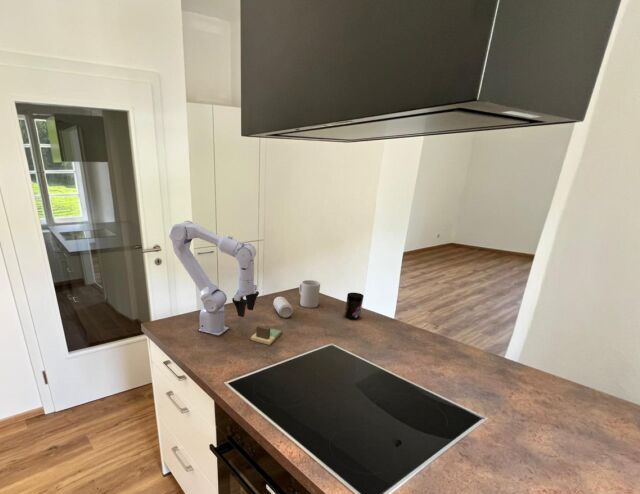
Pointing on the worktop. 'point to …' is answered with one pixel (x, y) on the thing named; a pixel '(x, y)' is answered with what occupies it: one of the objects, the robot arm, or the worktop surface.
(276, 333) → the notch pad
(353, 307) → the supplement container
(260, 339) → the tab pad
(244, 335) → the worktop surface
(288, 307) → the beverage can
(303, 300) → the mug
